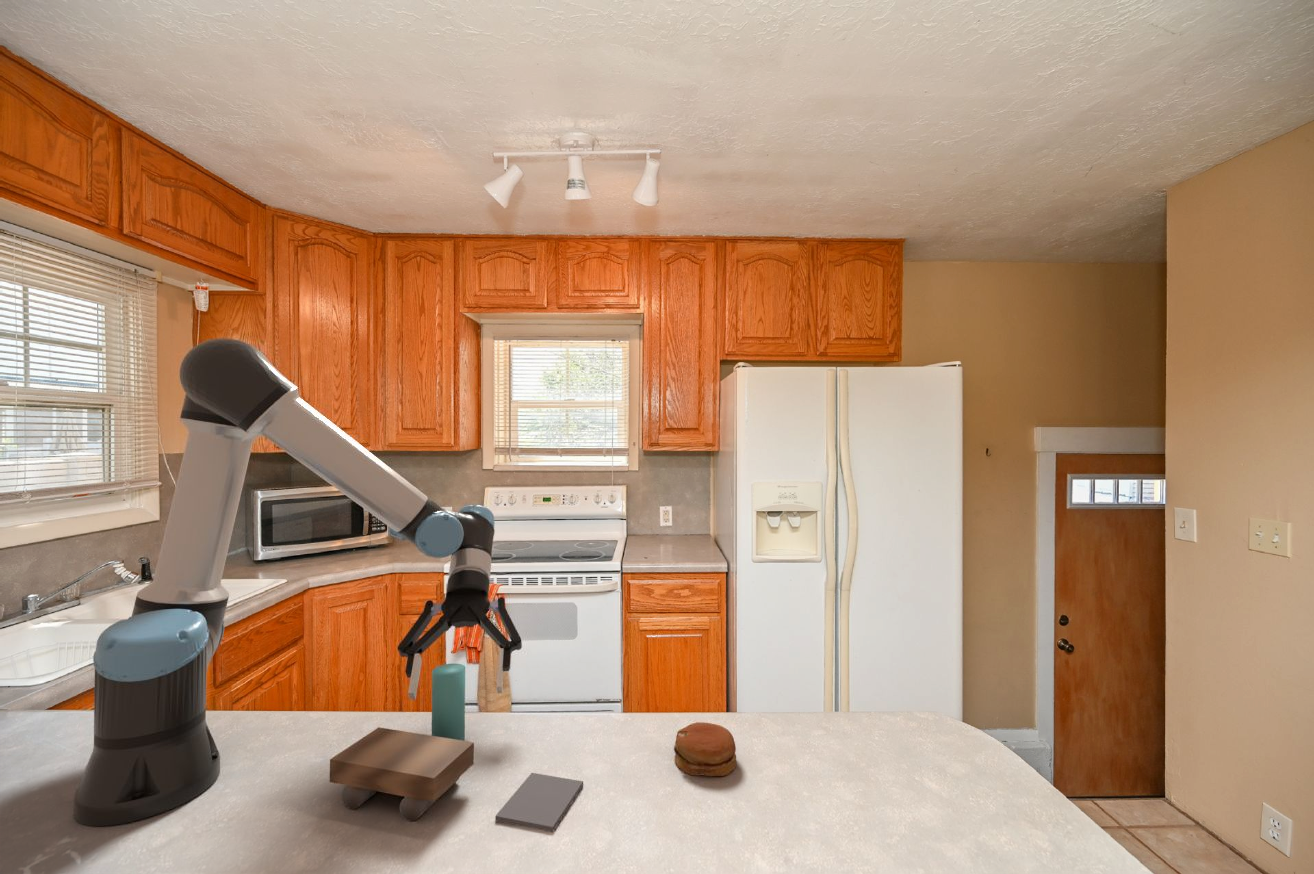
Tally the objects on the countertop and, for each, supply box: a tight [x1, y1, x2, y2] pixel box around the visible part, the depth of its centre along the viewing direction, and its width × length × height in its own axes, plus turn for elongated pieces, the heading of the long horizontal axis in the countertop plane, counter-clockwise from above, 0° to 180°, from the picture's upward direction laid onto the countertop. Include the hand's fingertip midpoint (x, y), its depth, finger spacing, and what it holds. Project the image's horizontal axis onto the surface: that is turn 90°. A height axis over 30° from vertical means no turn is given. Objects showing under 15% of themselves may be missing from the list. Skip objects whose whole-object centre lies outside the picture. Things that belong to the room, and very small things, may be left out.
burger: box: [673, 721, 737, 778], centre depth 88 cm, size 10×9×5 cm
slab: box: [329, 726, 475, 822], centre depth 79 cm, size 16×9×6 cm, turn 75°
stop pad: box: [494, 772, 584, 833], centre depth 77 cm, size 8×10×1 cm
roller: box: [431, 663, 466, 741], centre depth 92 cm, size 5×5×12 cm
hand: (456, 693), depth 93 cm, fingers open, 13 cm apart
